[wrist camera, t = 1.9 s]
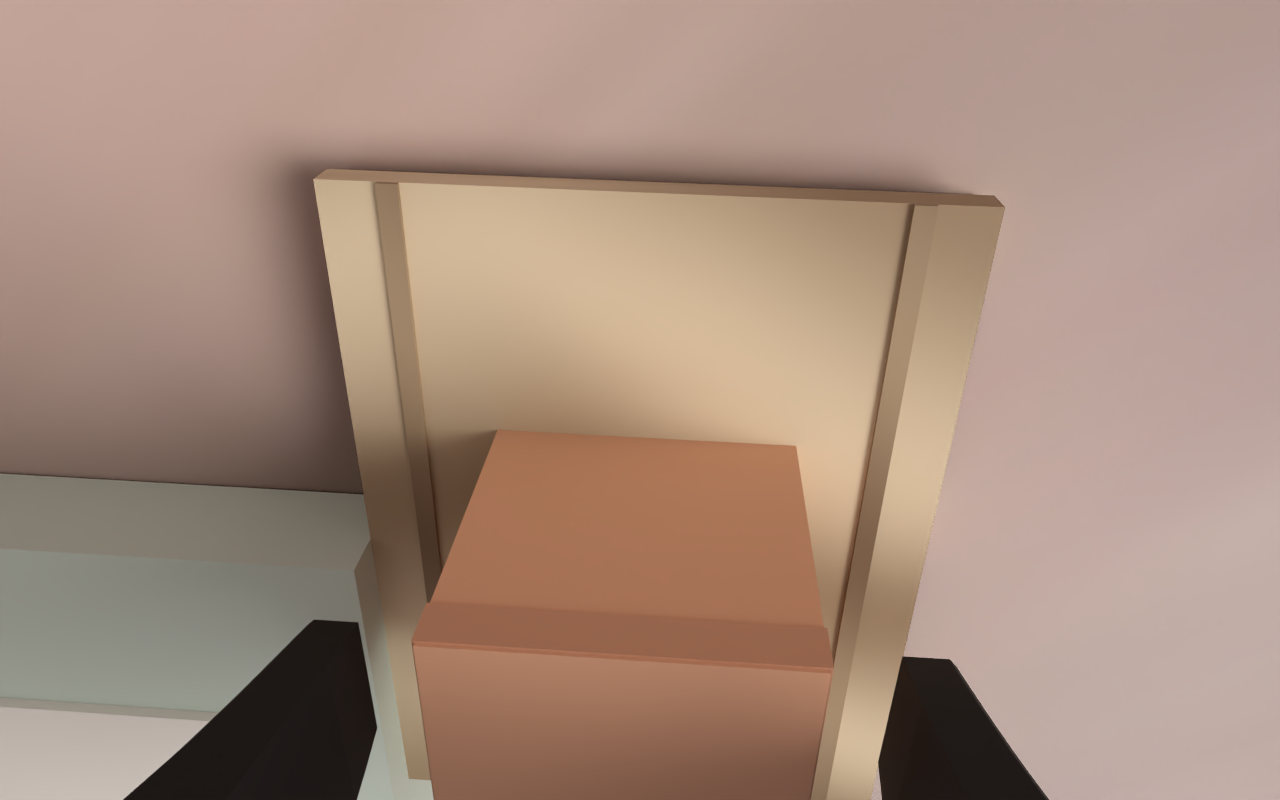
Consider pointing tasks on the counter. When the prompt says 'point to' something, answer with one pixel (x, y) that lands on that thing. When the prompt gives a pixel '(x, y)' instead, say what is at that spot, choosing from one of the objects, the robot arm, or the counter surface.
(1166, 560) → the counter surface
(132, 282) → the counter surface
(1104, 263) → the counter surface
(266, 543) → the dock
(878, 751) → the pallet
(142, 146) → the counter surface
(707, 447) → the orange block
